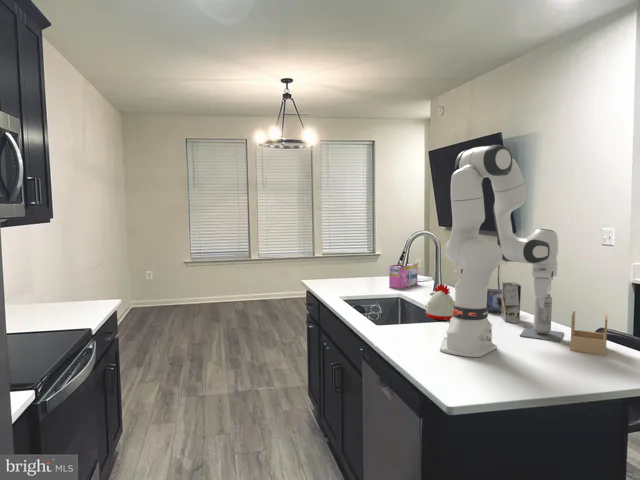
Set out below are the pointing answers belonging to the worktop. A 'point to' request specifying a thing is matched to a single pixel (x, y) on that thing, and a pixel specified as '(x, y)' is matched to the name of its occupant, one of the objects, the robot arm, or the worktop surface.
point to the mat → (542, 335)
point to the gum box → (402, 276)
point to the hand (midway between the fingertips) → (542, 305)
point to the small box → (494, 300)
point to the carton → (588, 340)
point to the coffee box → (511, 302)
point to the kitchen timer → (440, 304)
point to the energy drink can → (543, 316)
